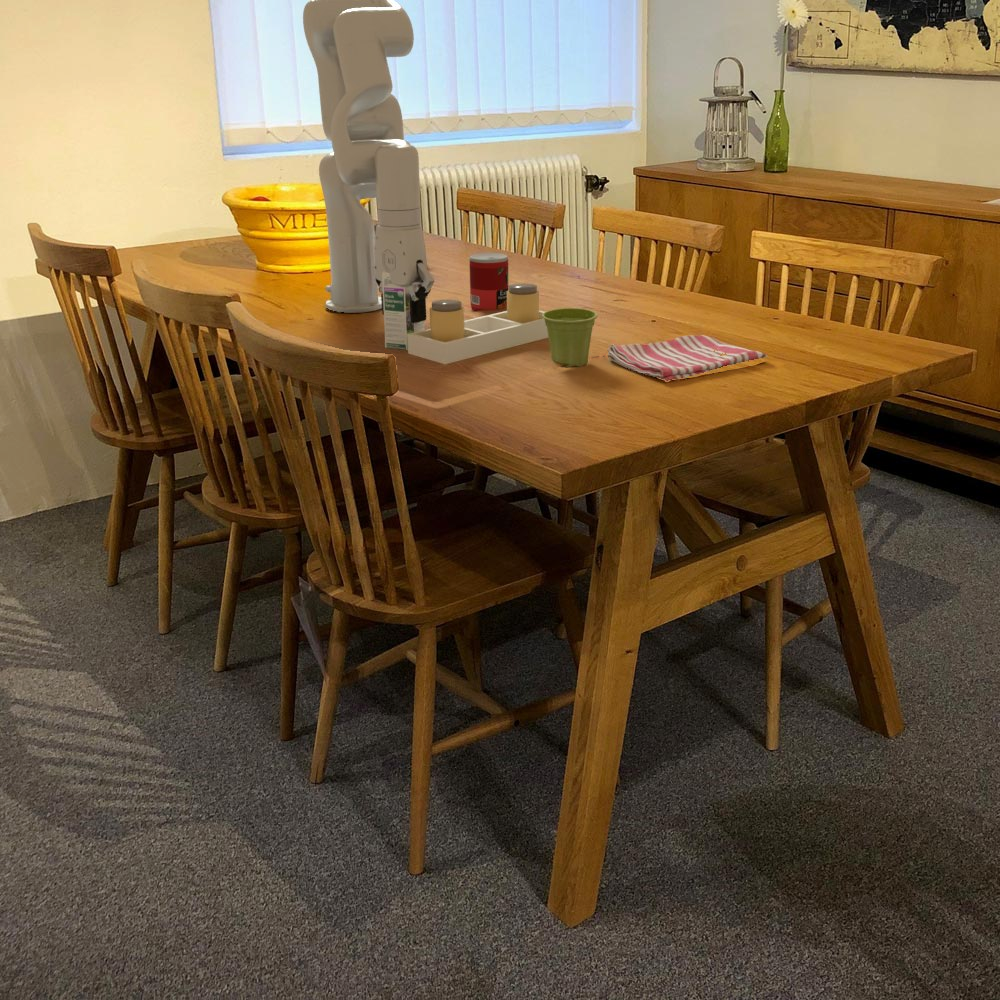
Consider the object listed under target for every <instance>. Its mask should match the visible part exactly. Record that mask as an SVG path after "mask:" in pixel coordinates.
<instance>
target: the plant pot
mask: <svg viewBox="0 0 1000 1000" xmlns="http://www.w3.org/2000/svg"><path fill="white" fill-rule="evenodd" d="M542 317H543V318H544V319H545V325H546V326H547V330H548V342H549V349H550V357H551V360H552V361H553V362H555V363H559V364H563V365H560V367H561V368H570V367H572V366H576V367H582V366H584V365H586V364H588V359H589V353H590V345H591V339H592V332H593V327H594V325H595V320H596V319H597V318H598V312H596V311H594V310H591V309H587V308H579V307H562V308H554V309H549V310H546V311H544V313H543V314H542Z"/></svg>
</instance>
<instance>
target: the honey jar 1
mask: <svg viewBox="0 0 1000 1000" xmlns="http://www.w3.org/2000/svg"><path fill="white" fill-rule="evenodd" d="M464 321H465V308H464V306H462V301H461V300H457V299H438V300H434V301H432V302H431V307H430V308H429V329H430V332H431V339H434V340H438V341H441V342H449V341H453V340H457V339H461V338H465V331H464Z"/></svg>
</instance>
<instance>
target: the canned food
mask: <svg viewBox="0 0 1000 1000" xmlns="http://www.w3.org/2000/svg"><path fill="white" fill-rule="evenodd" d="M508 258H509V255H507V254H504V253H499V252H498V253H497V252H481V253H479V252H478V253H475V254H474V253H473V254H472V255H470V256H469V259H468V261H469V288H470V289H469V293H470V294H469V295H470V297H469V298H470V308H471V311H473V312H475V313H476V312H481V311H494V310H495V311H496V310H497V311H498V310H502V309H507V291H508V290H509V259H508Z"/></svg>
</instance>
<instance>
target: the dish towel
mask: <svg viewBox="0 0 1000 1000" xmlns="http://www.w3.org/2000/svg"><path fill="white" fill-rule="evenodd" d="M717 346H718V347H717ZM715 349H716V350H715ZM714 350H715V352H713V351H714ZM717 350H718V351H717ZM607 352H608V353H607V357H608V359H609V361H611V362H613V363H614V364H615V363H616V364H617V365H619V366H622V367H624V368H625V369H627V368H628V370H630V369H631V370H630V371H634V372H636V371H637V372H636V373H638V374H641V373H643V374H642V375H644V374H645V376H647V375H649V376H648V377H650V376H654V377H658V378H661V379H665V380H666V381H668V380H672V379H678V378H683V377H684V378H685V377H689V376H693V375H696V374H700V373H704V372H708V371H710V370H714V369H717V368H721V367H723V366H727V365H732V364H736V363H741V362H745V361H749V360H754V359H759V358H765V357H768V355H767V353H764V352H761V351H757V350H751V349H748V348H745V347H740V346H737V345H732V344H729V343H725V342H721V341H720V340H718V339H716V338H714V337H711V336H707V335H705V334H704V335H703V334H700V335H699V334H698V335H695V334H694V335H693V334H692V335H691V334H690V335H683V336H681V337H680V336H678V337H675V338H674V339H670V340H665V341H661V342H652V343H647V344H643V343H642V344H641V343H633V344H632V343H631V344H626V345H625V344H622V345H617V344H614V343H612V344H610V347H608V348H607ZM725 352H726V354H727V355H722V353H723V354H725ZM719 354H721V355H722V356H720V355H719ZM768 358H769V357H768ZM654 377H653V378H654Z"/></svg>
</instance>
